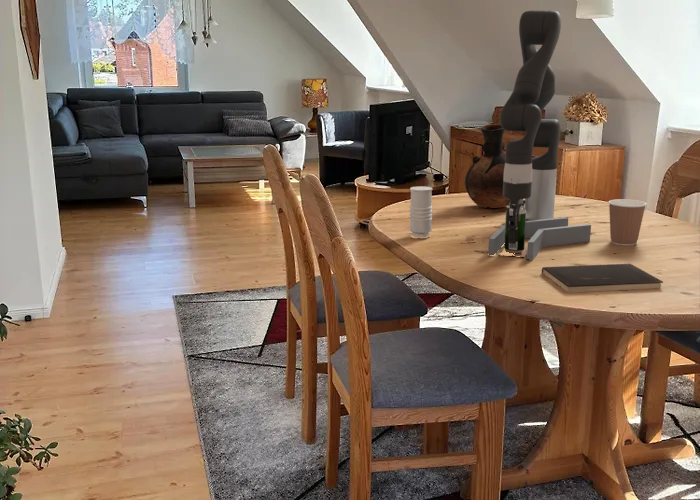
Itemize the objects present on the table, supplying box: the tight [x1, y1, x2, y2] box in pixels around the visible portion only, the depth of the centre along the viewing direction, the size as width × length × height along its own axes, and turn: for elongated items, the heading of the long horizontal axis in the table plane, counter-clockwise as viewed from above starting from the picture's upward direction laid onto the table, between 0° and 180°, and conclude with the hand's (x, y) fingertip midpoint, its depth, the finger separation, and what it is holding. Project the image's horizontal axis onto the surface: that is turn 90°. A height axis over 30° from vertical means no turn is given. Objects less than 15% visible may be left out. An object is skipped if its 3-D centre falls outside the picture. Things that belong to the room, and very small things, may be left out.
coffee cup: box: [608, 198, 647, 247], centre depth 205 cm, size 10×10×12 cm
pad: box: [512, 249, 527, 258], centre depth 196 cm, size 7×7×1 cm
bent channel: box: [487, 216, 592, 261], centre depth 202 cm, size 23×36×5 cm, turn 111°
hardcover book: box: [541, 263, 664, 293], centre depth 171 cm, size 16×23×2 cm
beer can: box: [503, 208, 527, 253], centre depth 194 cm, size 5×5×12 cm
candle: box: [408, 185, 433, 237], centre depth 214 cm, size 7×7×15 cm
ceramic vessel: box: [464, 123, 510, 209], centre depth 255 cm, size 21×18×30 cm
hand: (514, 240), depth 195 cm, fingers closed on beer can, 5 cm apart
